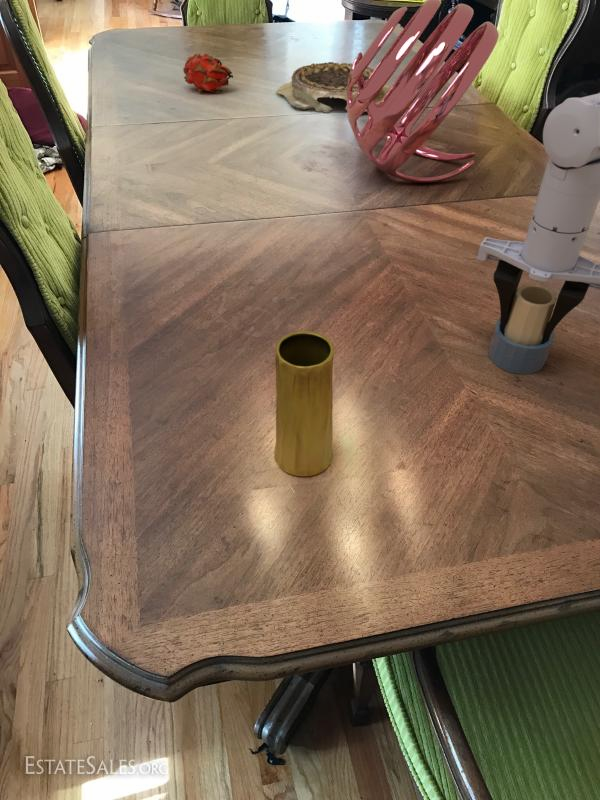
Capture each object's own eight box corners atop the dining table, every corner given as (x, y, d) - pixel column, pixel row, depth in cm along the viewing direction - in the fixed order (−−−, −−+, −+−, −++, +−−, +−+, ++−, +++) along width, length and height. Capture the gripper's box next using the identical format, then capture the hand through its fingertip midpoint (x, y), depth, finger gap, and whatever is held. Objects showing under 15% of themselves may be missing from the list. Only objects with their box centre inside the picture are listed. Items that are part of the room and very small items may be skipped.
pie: (265, 82, 150) (264, 59, 147) (369, 72, 156) (371, 50, 153) (299, 122, 131) (299, 98, 127) (416, 110, 137) (419, 86, 133)
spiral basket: (565, 46, 104) (445, -72, 97) (526, 144, 90) (385, 15, 84) (456, 150, 127) (354, 60, 121) (412, 239, 114) (295, 144, 108)
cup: (545, 332, 74) (560, 290, 70) (536, 353, 71) (551, 311, 67) (509, 321, 76) (522, 280, 72) (499, 341, 73) (511, 299, 69)
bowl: (550, 349, 77) (560, 323, 74) (537, 381, 72) (547, 355, 70) (497, 332, 79) (504, 307, 76) (481, 363, 75) (488, 337, 72)
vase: (282, 483, 61) (279, 376, 51) (268, 439, 65) (263, 333, 56) (340, 470, 62) (349, 364, 52) (322, 428, 67) (327, 322, 57)
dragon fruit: (183, 94, 148) (231, 105, 148) (173, 81, 140) (223, 93, 139) (191, 57, 147) (239, 69, 146) (181, 41, 138) (232, 54, 138)
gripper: (479, 219, 63) (455, 325, 73) (629, 256, 58) (582, 365, 67) (500, 192, 67) (474, 295, 77) (640, 225, 62) (595, 331, 72)
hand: (526, 326), depth 72 cm, fingers open, 4 cm apart
